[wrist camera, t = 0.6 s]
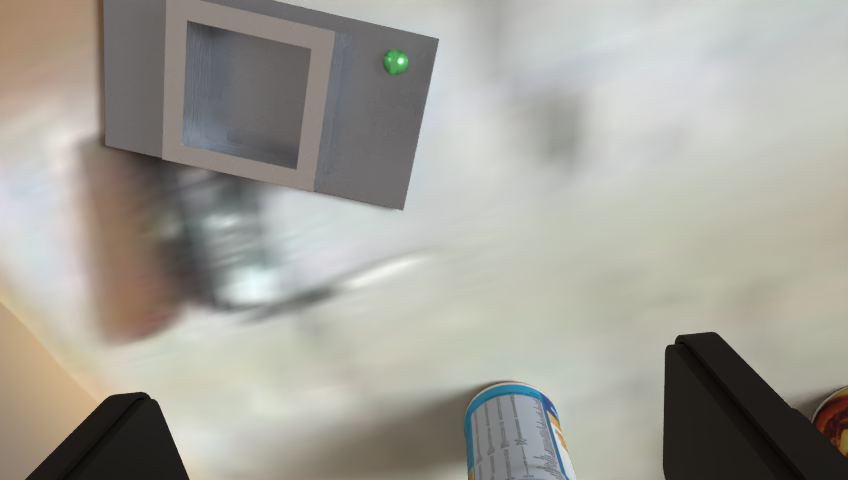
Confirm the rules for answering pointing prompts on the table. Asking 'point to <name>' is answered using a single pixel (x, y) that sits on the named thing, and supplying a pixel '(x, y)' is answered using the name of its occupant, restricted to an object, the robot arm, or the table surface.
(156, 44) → the port
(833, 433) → the canned food
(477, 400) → the beverage bottle
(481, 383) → the table surface
